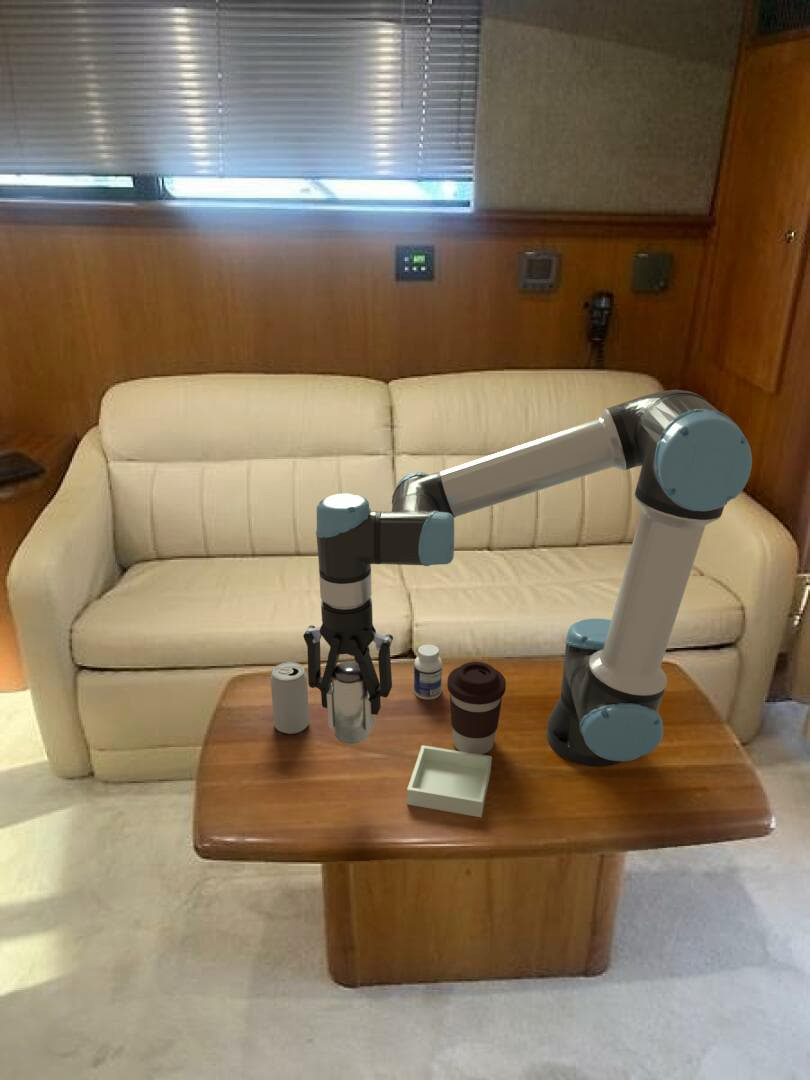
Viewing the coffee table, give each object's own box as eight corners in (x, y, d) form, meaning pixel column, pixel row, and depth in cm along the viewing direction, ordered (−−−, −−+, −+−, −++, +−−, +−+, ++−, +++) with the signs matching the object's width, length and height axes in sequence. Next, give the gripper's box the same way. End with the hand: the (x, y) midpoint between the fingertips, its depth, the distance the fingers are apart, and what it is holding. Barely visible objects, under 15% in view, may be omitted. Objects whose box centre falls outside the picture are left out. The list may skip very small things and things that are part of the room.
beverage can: (303, 738, 140) (299, 682, 135) (269, 734, 141) (264, 678, 136) (314, 717, 146) (311, 662, 141) (281, 712, 147) (277, 658, 142)
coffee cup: (451, 764, 134) (454, 691, 128) (440, 728, 143) (442, 658, 137) (507, 758, 136) (513, 686, 130) (493, 723, 145) (498, 654, 138)
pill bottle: (415, 683, 156) (416, 641, 152) (442, 685, 155) (444, 643, 151) (412, 699, 151) (412, 656, 147) (440, 701, 151) (441, 658, 146)
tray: (490, 770, 133) (491, 756, 132) (481, 817, 123) (482, 802, 122) (421, 759, 135) (421, 745, 134) (407, 804, 126) (407, 789, 124)
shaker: (373, 724, 127) (371, 661, 122) (364, 745, 123) (361, 681, 118) (341, 719, 129) (337, 657, 124) (330, 740, 124) (326, 677, 119)
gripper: (413, 592, 117) (413, 719, 126) (296, 580, 121) (305, 704, 130) (401, 617, 110) (403, 749, 120) (277, 603, 114) (288, 732, 124)
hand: (352, 725), depth 125 cm, fingers closed on shaker, 5 cm apart
